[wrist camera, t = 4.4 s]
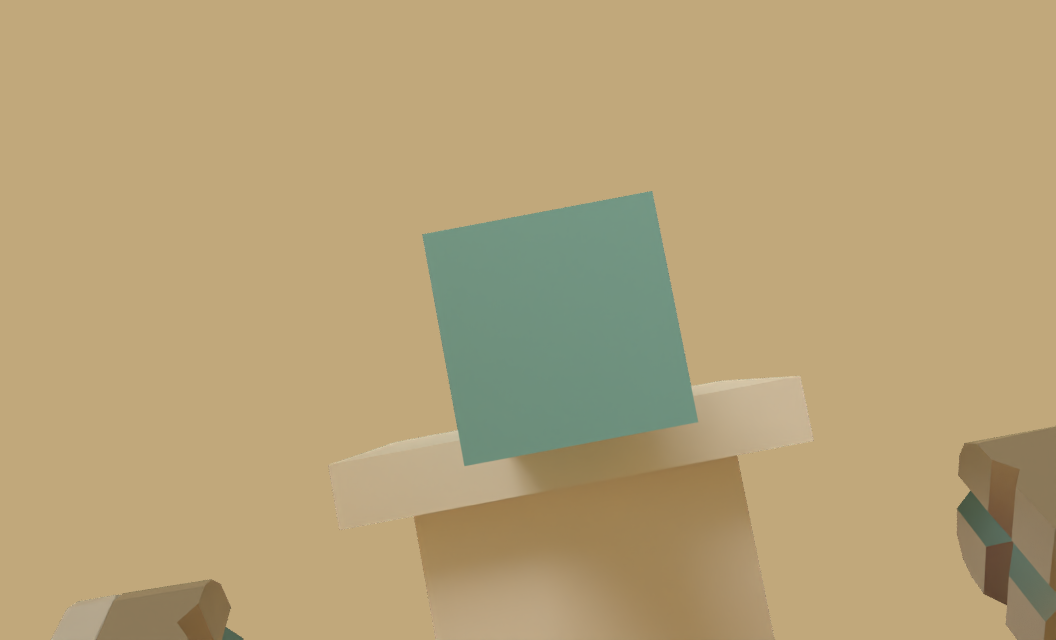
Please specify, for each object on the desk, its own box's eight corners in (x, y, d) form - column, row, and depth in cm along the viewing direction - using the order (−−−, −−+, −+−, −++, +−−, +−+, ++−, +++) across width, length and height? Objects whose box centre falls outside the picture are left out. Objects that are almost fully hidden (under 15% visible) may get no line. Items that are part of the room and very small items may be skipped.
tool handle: (698, 421, 12) (652, 190, 12) (464, 465, 12) (422, 235, 12) (593, 401, 37) (579, 325, 37) (517, 416, 37) (502, 339, 37)
